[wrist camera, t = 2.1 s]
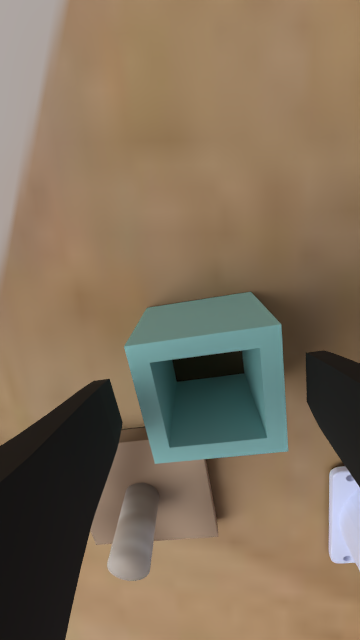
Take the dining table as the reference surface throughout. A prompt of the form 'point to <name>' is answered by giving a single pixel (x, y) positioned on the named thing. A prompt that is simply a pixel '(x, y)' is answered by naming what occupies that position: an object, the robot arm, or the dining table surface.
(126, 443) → the pin plate
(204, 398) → the teal hollow block
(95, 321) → the dining table surface
